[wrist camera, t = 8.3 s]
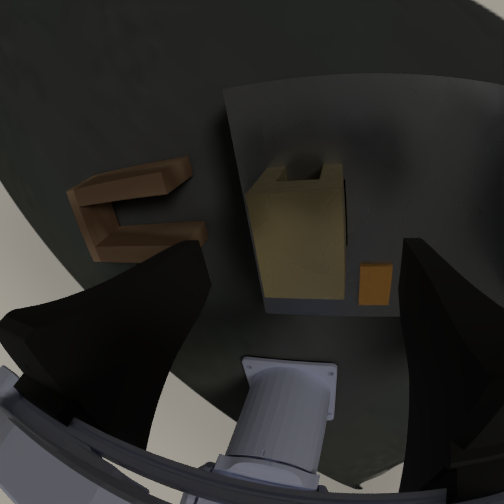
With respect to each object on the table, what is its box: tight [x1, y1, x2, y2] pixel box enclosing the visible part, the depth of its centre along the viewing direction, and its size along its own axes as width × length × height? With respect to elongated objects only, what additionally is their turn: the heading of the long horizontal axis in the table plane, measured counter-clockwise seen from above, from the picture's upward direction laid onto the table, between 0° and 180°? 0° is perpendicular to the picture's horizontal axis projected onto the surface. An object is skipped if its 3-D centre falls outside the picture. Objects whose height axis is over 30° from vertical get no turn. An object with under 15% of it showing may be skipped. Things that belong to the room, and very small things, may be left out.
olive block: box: [245, 164, 346, 300], centre depth 13 cm, size 4×3×6 cm
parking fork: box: [66, 156, 209, 263], centre depth 18 cm, size 5×8×3 cm
